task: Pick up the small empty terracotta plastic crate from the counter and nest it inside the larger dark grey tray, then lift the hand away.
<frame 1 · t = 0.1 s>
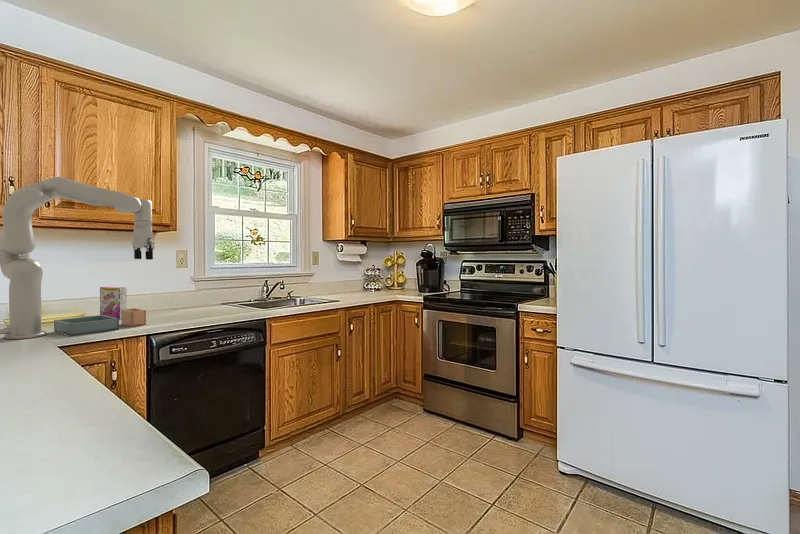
hand: (143, 259, 202), 31 cm above the countertop, fingers open, 9 cm apart
dark grey tray: (87, 330, 178), on the countertop
candy bar box: (113, 319, 210), on the countertop
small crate: (133, 324, 195), on the countertop
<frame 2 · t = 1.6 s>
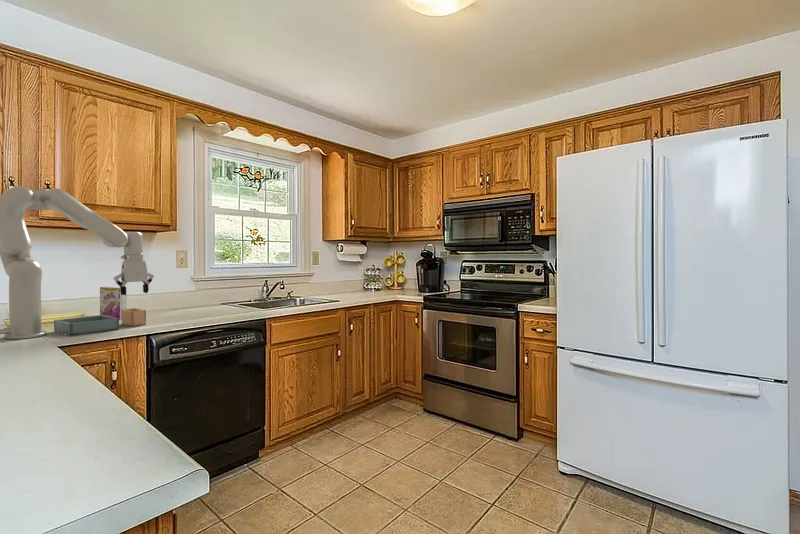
hand: (134, 293, 195), 15 cm above the countertop, fingers open, 9 cm apart
nothing on the countertop moved.
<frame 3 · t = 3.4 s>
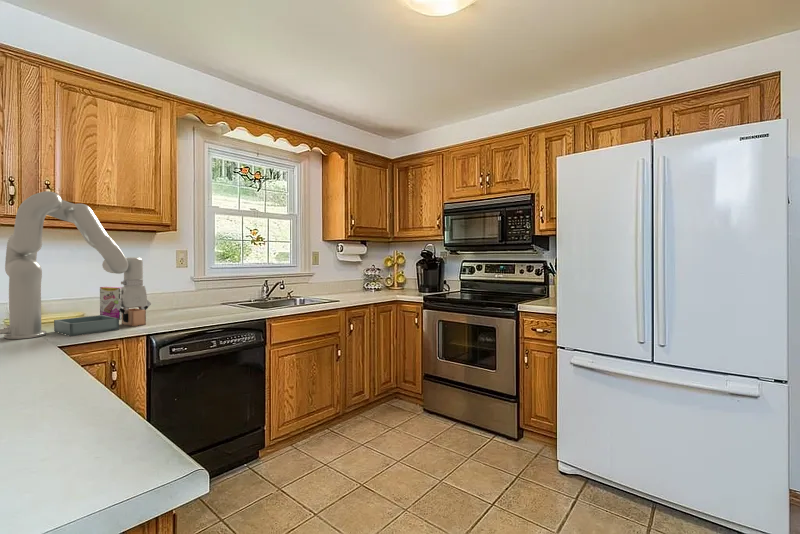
hand: (133, 320, 195), 2 cm above the countertop, fingers closed on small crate, 6 cm apart
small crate: (133, 324, 195), on the countertop, touching gripper
everything else where it was.
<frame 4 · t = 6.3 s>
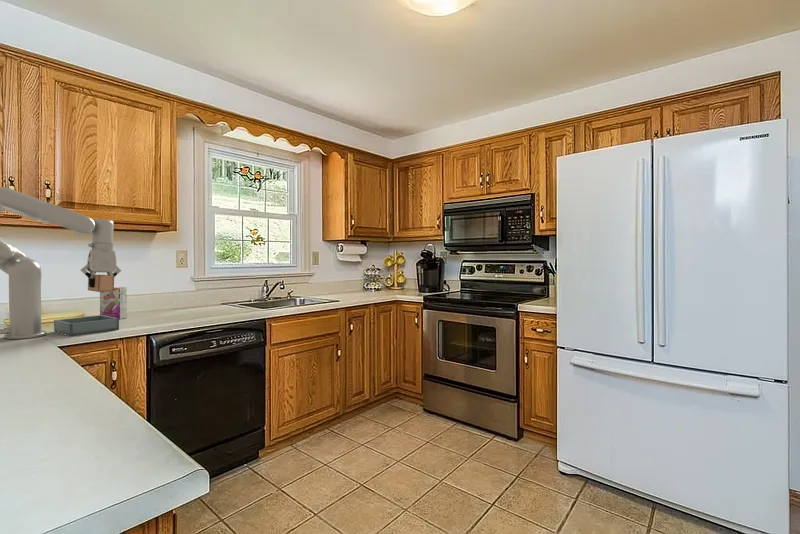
hand: (100, 286, 182), 19 cm above the countertop, fingers closed on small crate, 6 cm apart
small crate: (100, 290, 182), point 17 cm above the countertop, touching gripper
everything else where it was.
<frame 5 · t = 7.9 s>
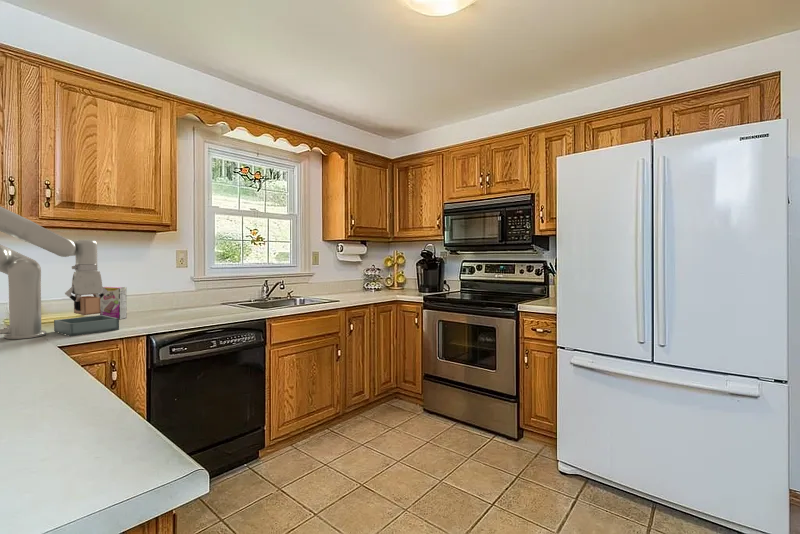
hand: (87, 309, 178), 9 cm above the countertop, fingers closed on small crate, 6 cm apart
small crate: (87, 313, 178), point 8 cm above the countertop, touching gripper
everything else where it was.
when the fingers open (4 cm above the countertop, at t = 9.4 s): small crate drops 1 cm, resting on dark grey tray.
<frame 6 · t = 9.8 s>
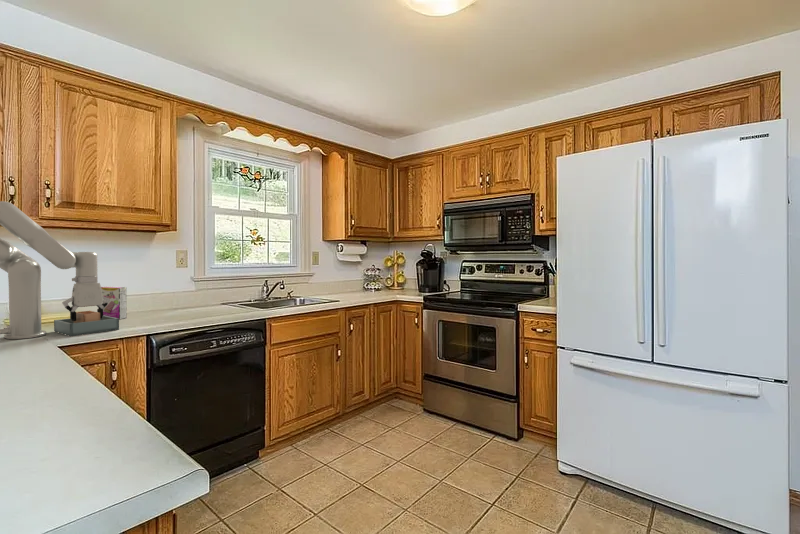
hand: (87, 319, 178), 5 cm above the countertop, fingers open, 9 cm apart
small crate: (87, 328, 178), point 1 cm above the countertop, touching dark grey tray
everything else where it was.
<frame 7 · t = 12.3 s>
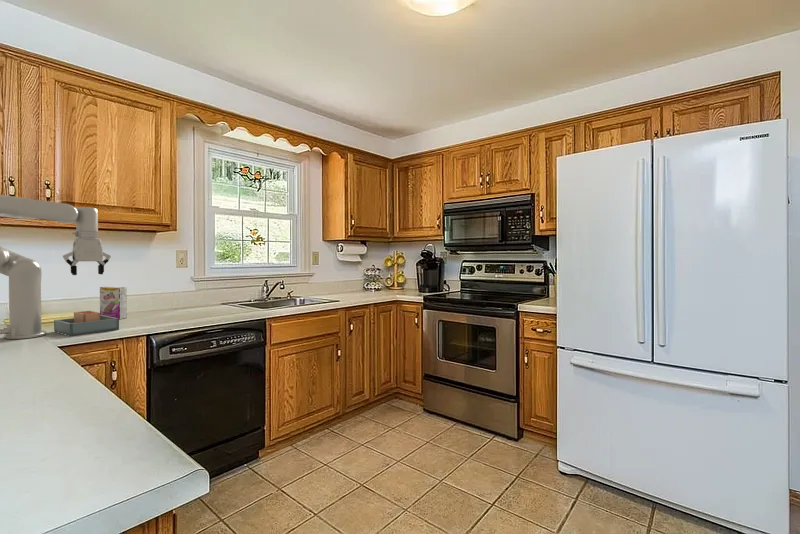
hand: (87, 274, 179), 24 cm above the countertop, fingers open, 9 cm apart
nothing on the countertop moved.
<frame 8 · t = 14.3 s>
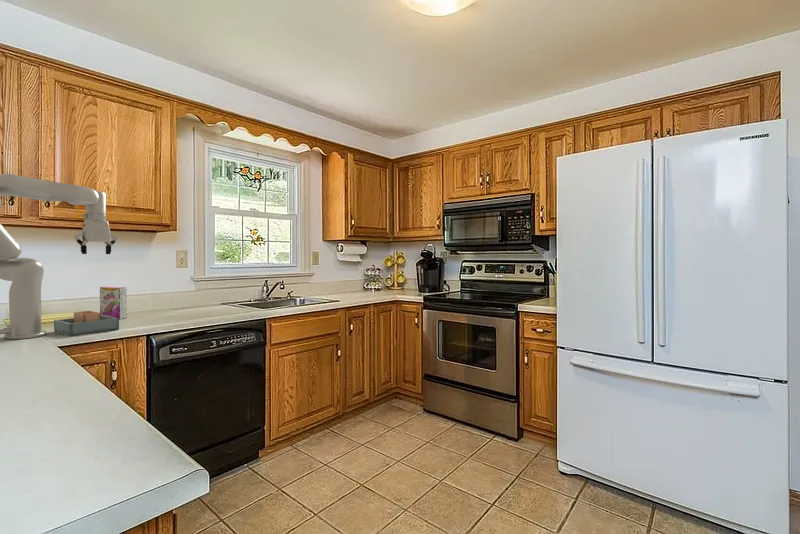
hand: (96, 254, 192), 33 cm above the countertop, fingers open, 9 cm apart
nothing on the countertop moved.
at the end: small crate inside the target area on the dark grey tray (0.0 cm from its centre), point 1.0 cm above the dark grey tray's base; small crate tilted 0°; the gripper is holding nothing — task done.
